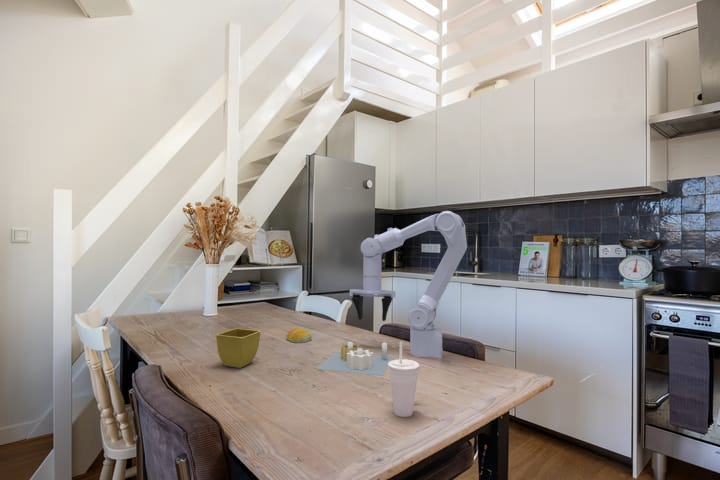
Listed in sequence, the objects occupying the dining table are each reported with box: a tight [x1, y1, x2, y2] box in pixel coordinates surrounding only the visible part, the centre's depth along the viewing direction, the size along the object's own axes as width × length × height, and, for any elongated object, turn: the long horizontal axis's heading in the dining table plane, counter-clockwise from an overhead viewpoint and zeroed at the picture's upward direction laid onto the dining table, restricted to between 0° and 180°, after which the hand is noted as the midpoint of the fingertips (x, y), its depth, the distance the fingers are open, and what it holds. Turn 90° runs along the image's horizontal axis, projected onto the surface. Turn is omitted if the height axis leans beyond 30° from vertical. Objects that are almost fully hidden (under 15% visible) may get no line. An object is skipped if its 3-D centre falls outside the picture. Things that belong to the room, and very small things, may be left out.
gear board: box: [315, 341, 396, 377], centre depth 102 cm, size 18×16×6 cm
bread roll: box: [285, 327, 312, 344], centre depth 132 cm, size 8×9×4 cm
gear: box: [347, 349, 374, 370], centre depth 99 cm, size 7×7×3 cm
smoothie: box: [387, 341, 421, 418], centre depth 74 cm, size 6×6×14 cm
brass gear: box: [340, 343, 362, 361], centre depth 106 cm, size 6×6×3 cm
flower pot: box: [215, 327, 261, 369], centre depth 104 cm, size 9×9×9 cm
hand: (372, 319), depth 118 cm, fingers open, 7 cm apart
